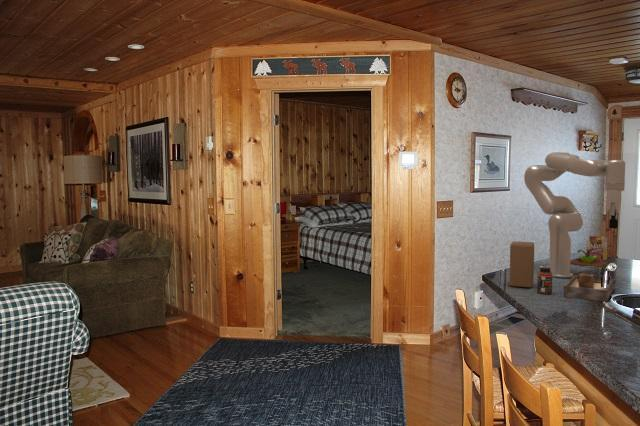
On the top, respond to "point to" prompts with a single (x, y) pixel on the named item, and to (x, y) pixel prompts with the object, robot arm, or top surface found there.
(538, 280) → the supplement bottle
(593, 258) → the plant
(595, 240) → the candy box
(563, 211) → the robot arm
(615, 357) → the top surface
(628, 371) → the top surface
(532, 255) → the wooden block
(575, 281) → the box
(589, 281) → the walnut block
